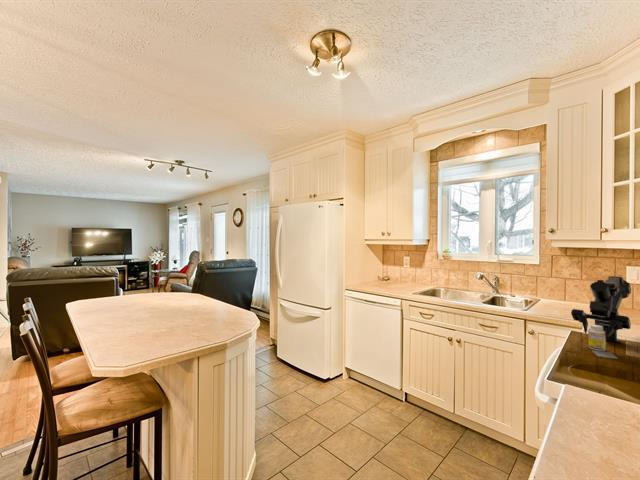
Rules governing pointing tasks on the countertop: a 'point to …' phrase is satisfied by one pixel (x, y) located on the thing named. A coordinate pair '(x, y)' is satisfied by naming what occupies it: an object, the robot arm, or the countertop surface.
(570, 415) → the countertop surface
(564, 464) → the countertop surface
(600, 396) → the countertop surface
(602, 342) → the supplement bottle
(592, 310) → the robot arm
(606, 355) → the slate coaster
